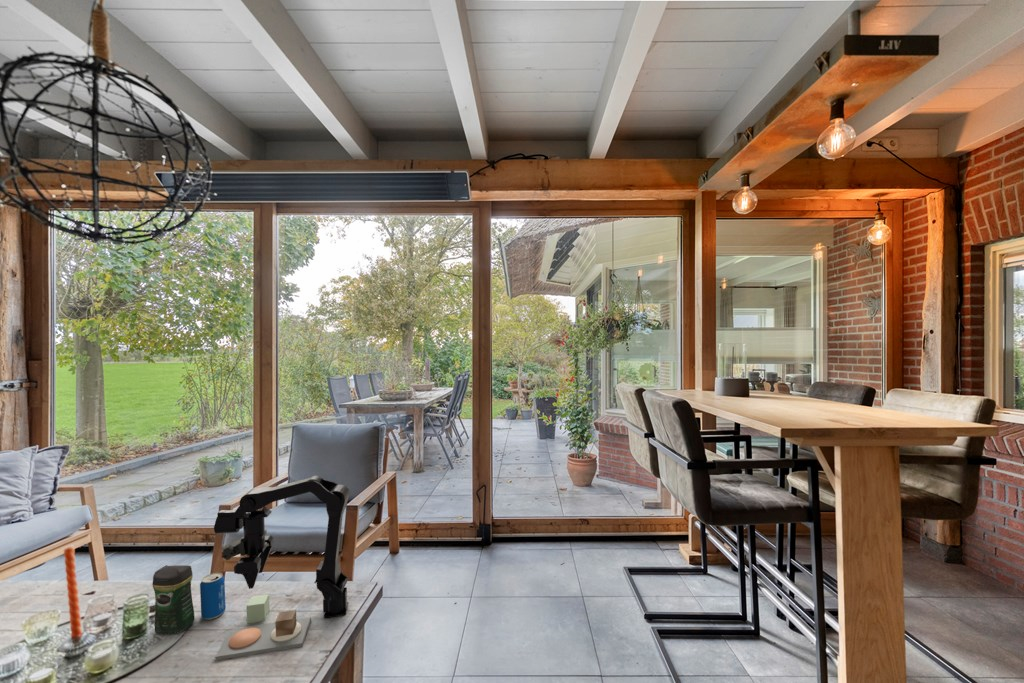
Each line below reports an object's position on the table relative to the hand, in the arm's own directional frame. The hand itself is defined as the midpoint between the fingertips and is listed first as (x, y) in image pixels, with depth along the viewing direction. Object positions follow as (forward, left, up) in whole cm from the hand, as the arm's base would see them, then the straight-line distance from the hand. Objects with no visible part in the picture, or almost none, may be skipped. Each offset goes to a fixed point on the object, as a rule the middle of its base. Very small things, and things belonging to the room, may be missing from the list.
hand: (255, 580), depth 142 cm
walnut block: (-11, +11, -11) cm, 19 cm away
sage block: (0, -1, -12) cm, 12 cm away
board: (-6, +11, -12) cm, 17 cm away
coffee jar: (+23, -2, -12) cm, 27 cm away
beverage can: (+14, -6, -12) cm, 20 cm away
